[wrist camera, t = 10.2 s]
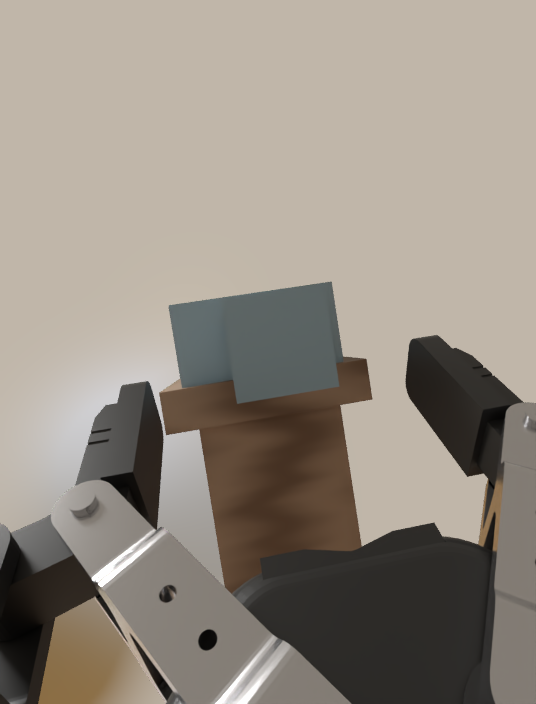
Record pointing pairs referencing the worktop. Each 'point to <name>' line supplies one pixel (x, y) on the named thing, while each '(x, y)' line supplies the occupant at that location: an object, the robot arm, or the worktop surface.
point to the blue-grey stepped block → (260, 341)
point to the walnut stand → (273, 467)
